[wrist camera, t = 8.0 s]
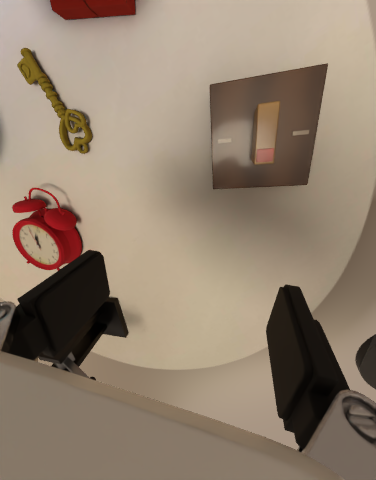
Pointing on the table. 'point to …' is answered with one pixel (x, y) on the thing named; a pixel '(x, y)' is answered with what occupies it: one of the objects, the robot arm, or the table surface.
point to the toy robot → (92, 8)
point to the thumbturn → (265, 132)
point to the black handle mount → (92, 333)
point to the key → (56, 104)
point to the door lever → (72, 366)
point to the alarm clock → (46, 234)
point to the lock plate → (288, 133)
